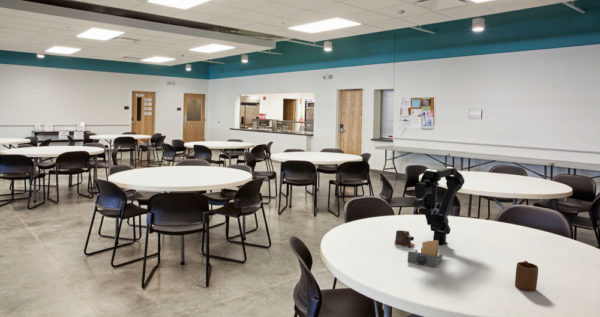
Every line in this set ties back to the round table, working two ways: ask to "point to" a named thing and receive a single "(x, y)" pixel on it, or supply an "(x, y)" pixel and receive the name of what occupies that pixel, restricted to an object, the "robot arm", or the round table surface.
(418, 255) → the grey cabinet body
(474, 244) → the round table surface
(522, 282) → the mug
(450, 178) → the robot arm
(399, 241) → the electronic device
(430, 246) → the side door
